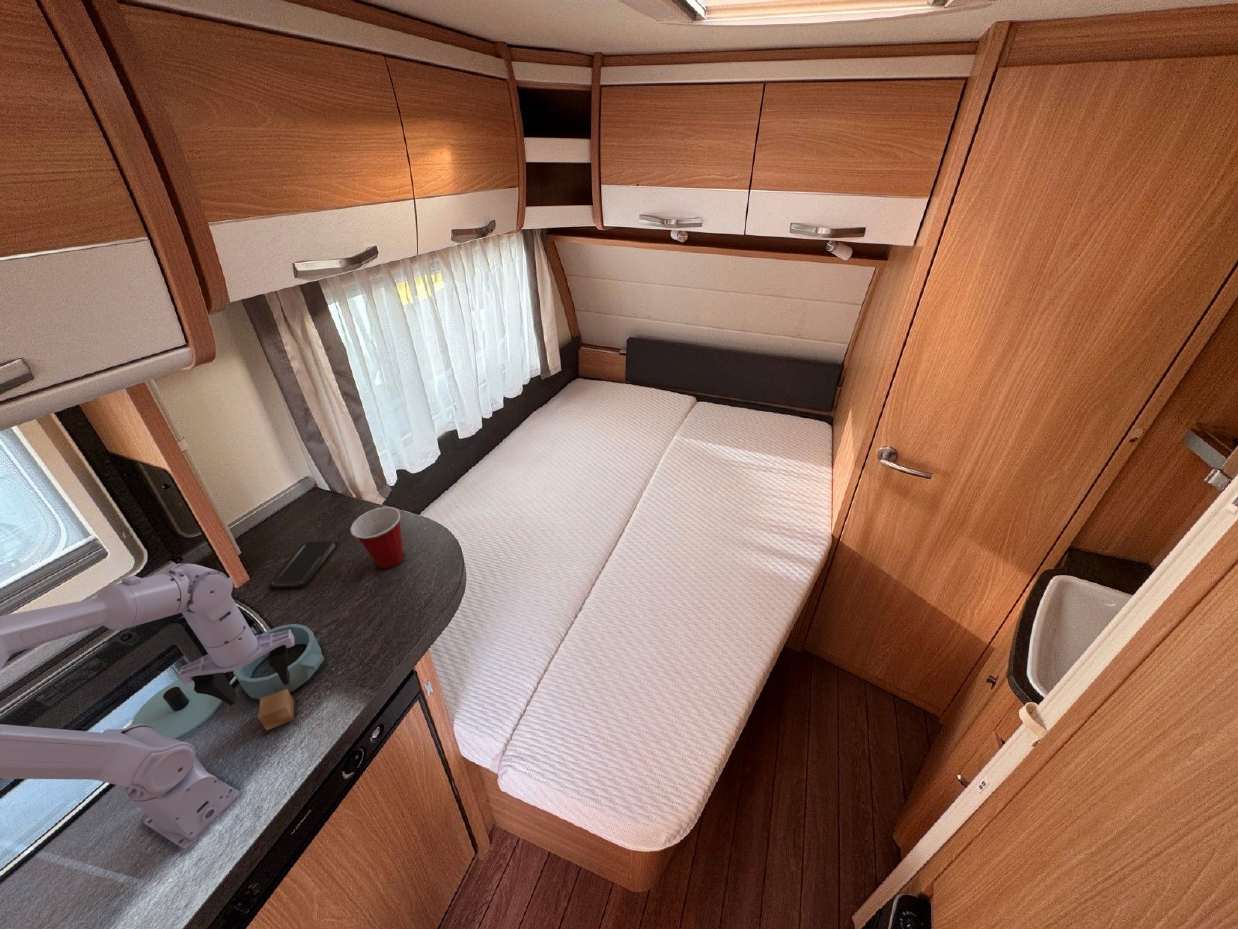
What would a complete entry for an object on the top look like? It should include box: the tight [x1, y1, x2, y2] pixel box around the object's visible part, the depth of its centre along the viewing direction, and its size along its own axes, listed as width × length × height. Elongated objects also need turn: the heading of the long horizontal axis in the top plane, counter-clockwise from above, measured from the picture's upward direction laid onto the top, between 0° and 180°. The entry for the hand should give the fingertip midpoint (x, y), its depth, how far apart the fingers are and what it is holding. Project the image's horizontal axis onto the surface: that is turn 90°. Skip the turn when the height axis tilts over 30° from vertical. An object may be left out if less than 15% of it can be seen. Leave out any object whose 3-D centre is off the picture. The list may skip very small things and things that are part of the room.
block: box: [257, 689, 295, 731], centre depth 86 cm, size 4×4×4 cm
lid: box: [131, 678, 224, 740], centre depth 88 cm, size 14×14×4 cm
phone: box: [270, 540, 336, 589], centre depth 121 cm, size 8×1×15 cm
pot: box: [232, 623, 325, 700], centre depth 94 cm, size 13×18×5 cm
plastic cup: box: [350, 506, 404, 569], centre depth 118 cm, size 11×11×12 cm
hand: (260, 689), depth 83 cm, fingers open, 7 cm apart
